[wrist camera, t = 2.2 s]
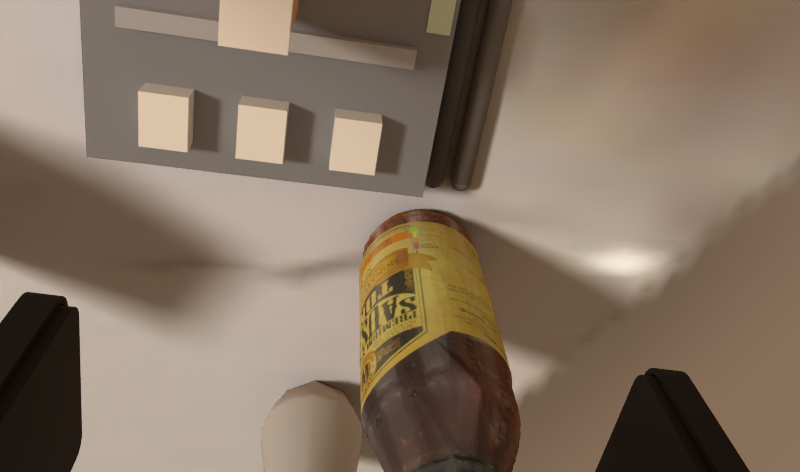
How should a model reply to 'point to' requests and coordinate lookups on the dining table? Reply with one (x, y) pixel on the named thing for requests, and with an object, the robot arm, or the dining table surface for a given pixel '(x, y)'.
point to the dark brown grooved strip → (477, 96)
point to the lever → (257, 24)
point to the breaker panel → (270, 91)
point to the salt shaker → (311, 432)
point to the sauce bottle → (432, 352)
